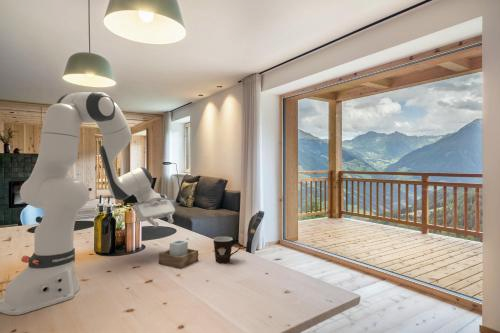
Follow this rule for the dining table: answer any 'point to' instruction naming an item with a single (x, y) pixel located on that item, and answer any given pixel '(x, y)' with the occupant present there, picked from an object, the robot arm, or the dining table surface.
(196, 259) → the brown wooden tray
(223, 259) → the coffee mug
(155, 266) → the dining table surface
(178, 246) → the grey piece
